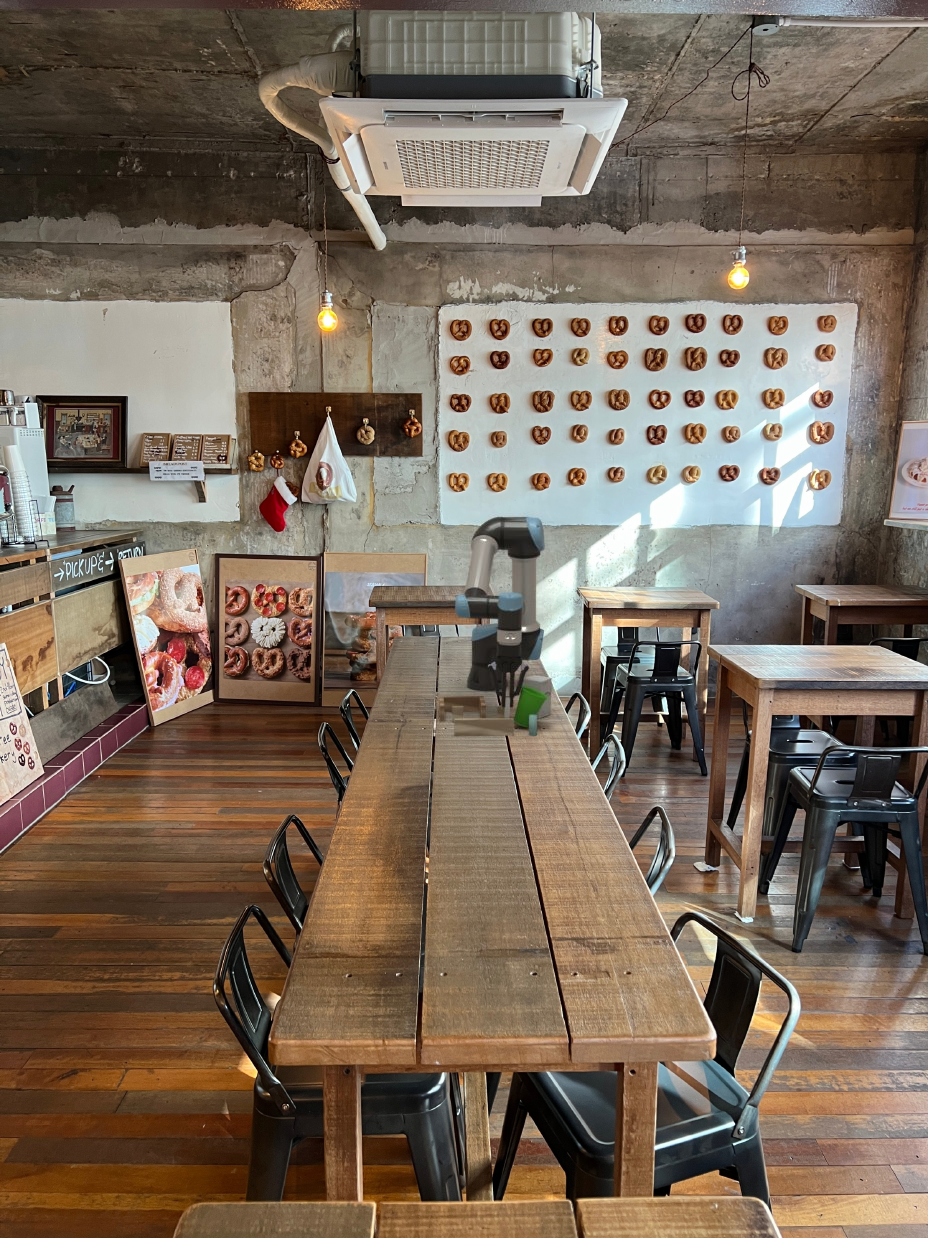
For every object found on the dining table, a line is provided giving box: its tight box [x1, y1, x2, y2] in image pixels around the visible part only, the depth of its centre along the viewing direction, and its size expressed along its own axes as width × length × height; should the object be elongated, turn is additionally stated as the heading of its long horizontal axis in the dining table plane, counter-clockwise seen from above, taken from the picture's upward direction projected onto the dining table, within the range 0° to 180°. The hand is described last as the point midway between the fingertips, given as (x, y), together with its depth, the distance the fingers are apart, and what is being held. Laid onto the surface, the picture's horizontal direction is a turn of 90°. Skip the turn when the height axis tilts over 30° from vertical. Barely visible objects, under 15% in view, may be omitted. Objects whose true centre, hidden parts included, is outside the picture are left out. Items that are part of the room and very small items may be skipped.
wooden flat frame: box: [438, 695, 515, 737], centre depth 279 cm, size 28×22×5 cm
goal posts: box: [528, 714, 538, 737], centre depth 273 cm, size 17×2×6 cm, turn 3°
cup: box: [513, 686, 548, 728], centre depth 273 cm, size 9×9×11 cm
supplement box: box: [522, 674, 552, 720], centre depth 287 cm, size 7×7×13 cm
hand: (506, 717), depth 272 cm, fingers closed
